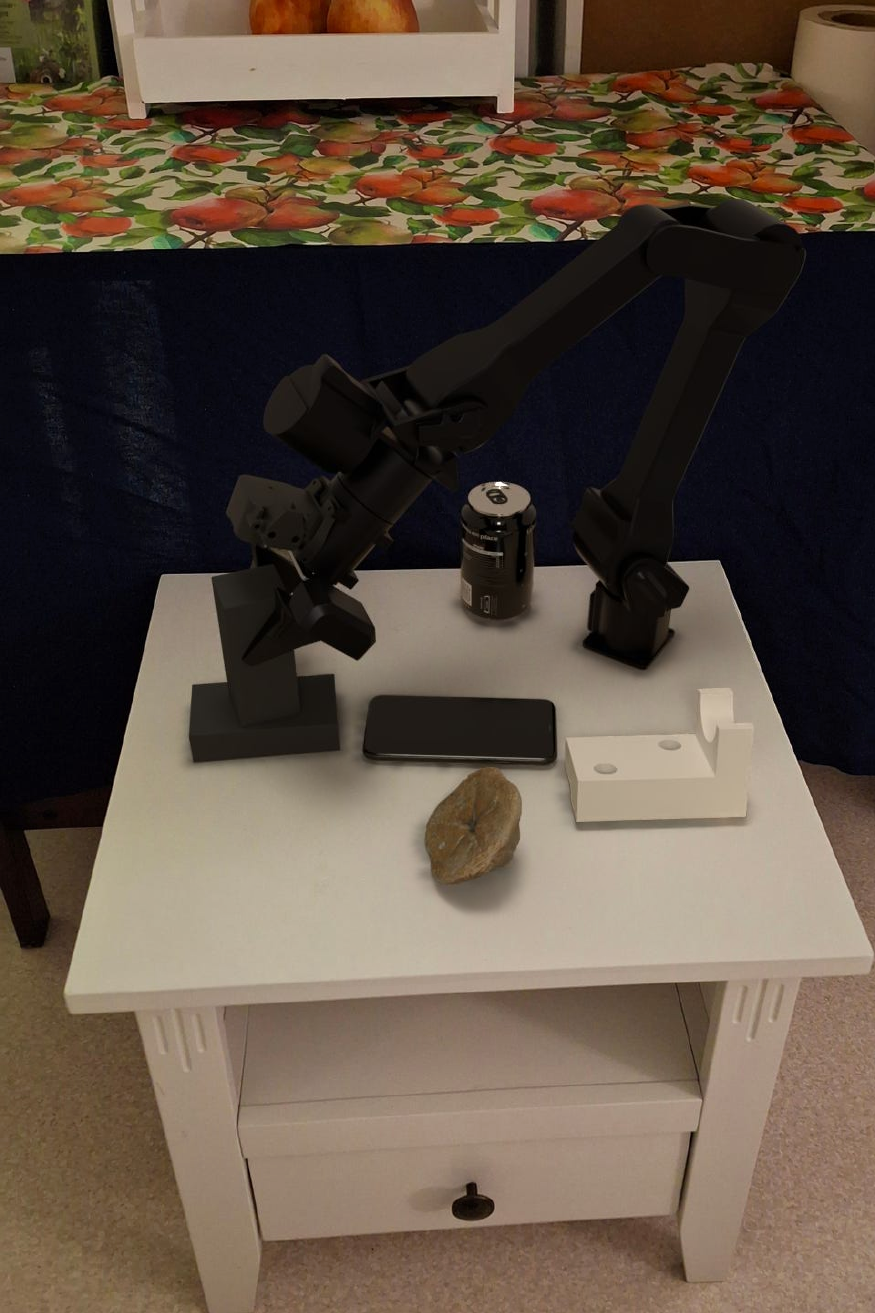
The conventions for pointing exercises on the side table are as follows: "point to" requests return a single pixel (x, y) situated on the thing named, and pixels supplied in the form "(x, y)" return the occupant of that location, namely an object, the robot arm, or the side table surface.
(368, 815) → the side table surface
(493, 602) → the beverage can
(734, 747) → the bracket
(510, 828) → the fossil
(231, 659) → the black pad block
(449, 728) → the smartphone
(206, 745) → the base pad
